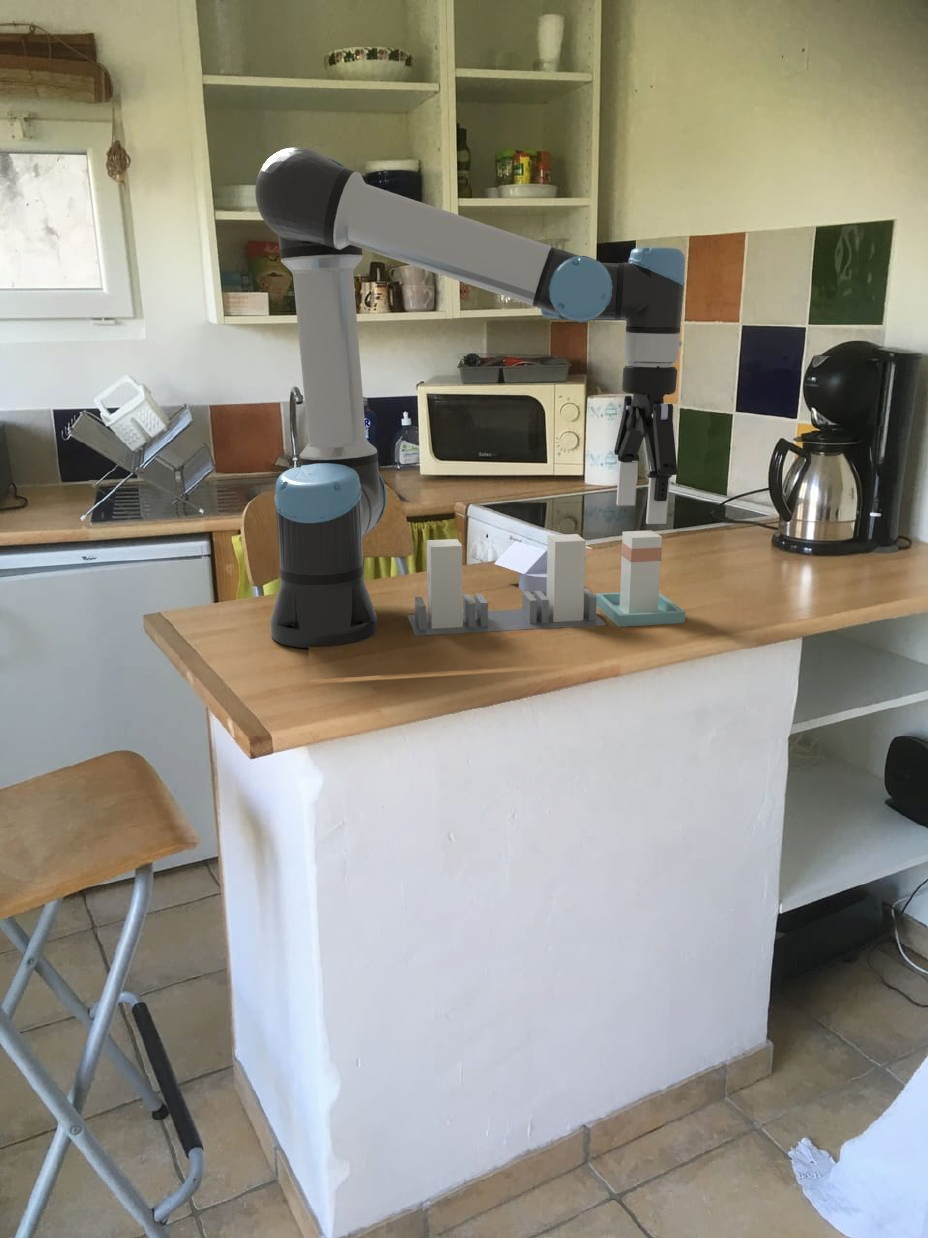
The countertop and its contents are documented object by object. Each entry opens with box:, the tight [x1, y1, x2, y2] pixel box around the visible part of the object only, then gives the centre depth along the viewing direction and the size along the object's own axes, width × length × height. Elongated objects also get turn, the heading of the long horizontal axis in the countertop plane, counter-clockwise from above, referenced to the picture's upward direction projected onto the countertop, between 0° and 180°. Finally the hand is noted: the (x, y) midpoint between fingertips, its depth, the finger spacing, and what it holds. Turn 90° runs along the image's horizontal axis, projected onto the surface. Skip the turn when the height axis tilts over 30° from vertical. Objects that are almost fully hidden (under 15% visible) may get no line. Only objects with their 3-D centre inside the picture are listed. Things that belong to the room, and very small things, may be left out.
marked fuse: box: [619, 530, 663, 614], centre depth 152 cm, size 5×5×12 cm
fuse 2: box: [545, 533, 587, 622], centre depth 150 cm, size 4×4×12 cm
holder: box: [407, 587, 607, 637], centre depth 150 cm, size 28×10×4 cm, turn 99°
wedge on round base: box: [493, 540, 547, 595], centre depth 169 cm, size 9×7×13 cm
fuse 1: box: [426, 538, 464, 629], centre depth 147 cm, size 4×4×12 cm
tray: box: [594, 591, 686, 628], centre depth 153 cm, size 10×12×2 cm
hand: (640, 514), depth 149 cm, fingers open, 13 cm apart
